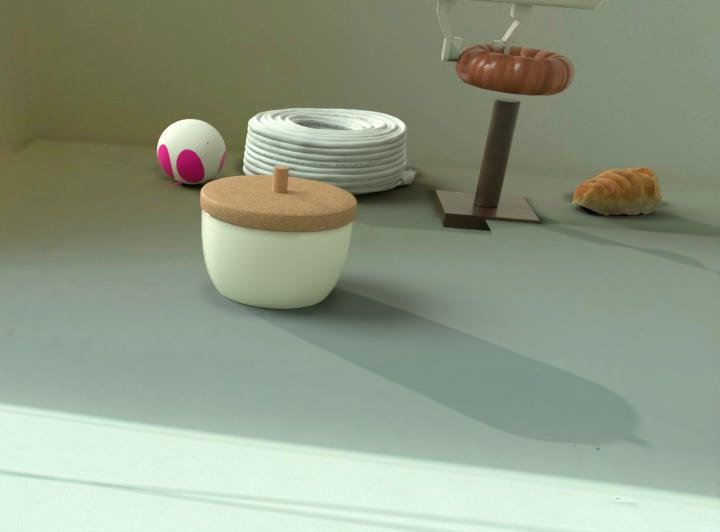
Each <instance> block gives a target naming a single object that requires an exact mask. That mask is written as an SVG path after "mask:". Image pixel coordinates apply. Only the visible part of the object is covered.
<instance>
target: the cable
mask: <svg viewBox="0 0 720 532" xmlns="http://www.w3.org/2000/svg"><path fill="white" fill-rule="evenodd" d="M407 132H408V128H407V124H405V122H404V121H403V120H401V119H399V118H398V117H396V116H393V115H391V114H387V113H384V112H378V111H374V110H373V111H371V110H364V109H363V110H362V109H351V108H349V109H348V108H347V109H346V108H316V107H315V108H314V107H306V108H305V107H294V108H293V107H291V108H283V109H273V110H272V109H271V110H267V111H261V112H259V113H257V114H255V115H254V116H252V117H251V118H249V120H248V122H247V133H246V139H245V145H244V149H245V150H244V154H243V155H244V156H243V160H242V161H243V166H242V171H243V173H244V175H273V170H274V166H286V167H289V174H288V177H295V178H303V179H308V180H314V181H318V182H323V183H327V184H330V185H333V186H336V187H339V188H341V189H343V190H345V191H347V192H349V193H351V194H352V195H353V196H357V195H366V194H372V193H376V192H377V193H378V192H379V193H380V192H385V191H389V190H392V189H394V188H397V187H399V186H400V187H401V186H404V185H407V186H409V185H411V184H412V182H414V180H415V178H416V176H417V174H418V170H417V169H414V168H413V166H412V165H410V164H407V163H408V160H407V138H408V134H407Z"/></svg>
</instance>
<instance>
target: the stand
mask: <svg viewBox="0 0 720 532" xmlns="http://www.w3.org/2000/svg"><path fill="white" fill-rule="evenodd" d="M521 103H522V101H521V100H519V99H516V98H510V97H495V98H494V101H493V106H492V110H491V115H490V121H489V126H488V130H487V135H486V140H485V145H484V150H483V154H482V155H483V156H482V160H481V165H480V170H479V175H478V179H477V184H476V190H475V192H463V191H452V190H439V189H436V190H435V193H434V197H433V205H434V208H435V209H436V212H437V215H438V217H439V219H440V222H441V224H442V225H441V226H442V227H447V228H448V227H449V228H460V229H461V228H462V229H473V230H487V231H491V228H490V226H489V224H488V222H487V220H488V221H502V222H512V223H513V222H514V223H526V224H540V222H541V220H540V219H539V217H538V216H537V214H536V213H535V212H534V210H533V209H532V207H531V206H530V205H529V204H528V203H529V202H527V200H526V199H525V198H524V197H523V196H514V195H503V194H502V191H503V185H504V181H505V177H506V174H507V173H506V172H507V168H508V165H509V164H508V163H509V158H510V154H511V149H512V145H513V141H514V137H515V131H516V127H517V122H518V119H519V113H520V108H521ZM501 194H502V195H501Z"/></svg>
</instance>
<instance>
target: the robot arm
mask: <svg viewBox="0 0 720 532" xmlns="http://www.w3.org/2000/svg"><path fill="white" fill-rule="evenodd" d="M457 1H458V0H437V2H436V3H437V4H436V8H435V9H436V10H435V14H436V17H437V20H438V23H439V26H440V30H441V33H442V36H443V37H444V38H443V43H442V48H441V49H442V50H441V57H440V59H441V61H442V62H448V63H449V62H451V63H456V62H459V59H460V52H461V50H462V49H463V48H462V47H463V41H464V39H463V38H462V37H460V36H454V32H453V29H452V26H451V23H450V19H449V16H453V15H454V14H455V11H456V6H457ZM471 1H474V2H486V3H497V4H498V3H499V4H500V3H501V4H510V5H511V8H510V13H509V16H510V18H511V19H513V21H512V23H511V25H510V26H509V27H508V29H507V31H506V32H505V33H504V35H503V37H502V38H501V39H492V40H491V43H490V44H491V51H492V52H494V53H500V54H506V55H509V53H510V48H511V46H512V44H514V42H515V41H516V40H517V38H518V37H519V36H520V34H521V33H522V31H524V29H525V27H526V26H527V25H528V24H529V22H530V19H531V13H532V10H533V6H536V7H537V6H538V7H551V8H564V9H578V10H591V11H594V10H597V8H598V7H600V5H602V3H603V2H604V1H605V0H471Z"/></svg>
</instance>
